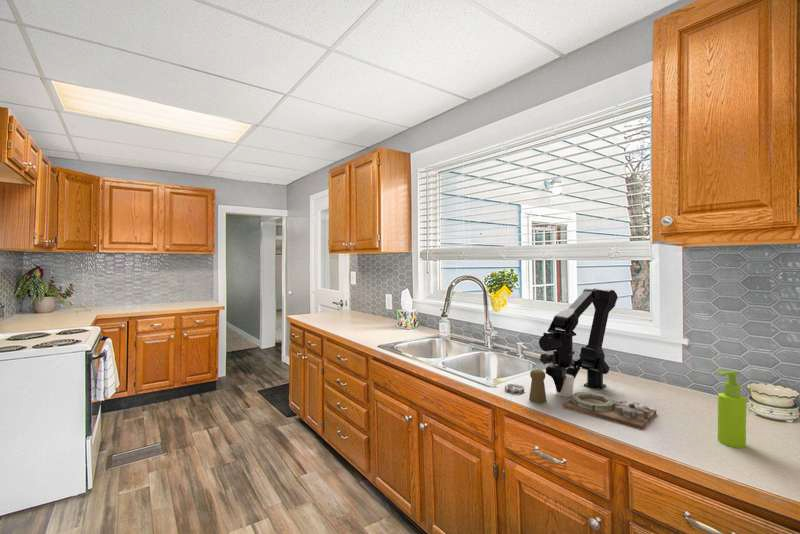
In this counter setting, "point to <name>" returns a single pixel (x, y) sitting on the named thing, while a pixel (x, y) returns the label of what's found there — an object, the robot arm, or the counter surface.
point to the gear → (514, 388)
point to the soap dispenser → (731, 413)
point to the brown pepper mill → (537, 387)
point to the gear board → (611, 409)
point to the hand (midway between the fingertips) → (564, 389)
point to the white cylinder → (567, 386)
